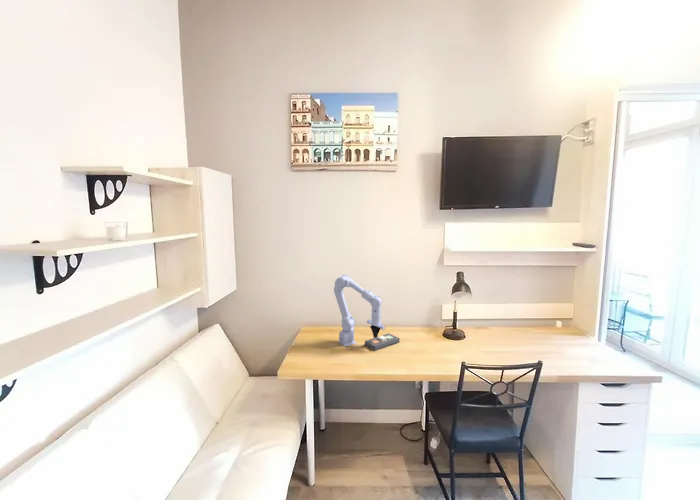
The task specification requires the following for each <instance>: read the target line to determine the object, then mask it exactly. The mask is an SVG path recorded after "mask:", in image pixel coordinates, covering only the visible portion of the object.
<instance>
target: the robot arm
mask: <svg viewBox="0 0 700 500" xmlns="http://www.w3.org/2000/svg"><path fill="white" fill-rule="evenodd" d="M333 287H334V288H333V293H334V296H335V298H336V299H335V300H336V302H337V305H338V308H339V312H340V315H341V329H342V330H340V331H339V333H338V343H339V344H340V345H341V346H344V347H348V346H350V345H354V344H357V343H358V342H357V341H355V327H354V326H355V325H356V320H355V318H354V317H353V315H352V314H351V313H350V310H349V307H348V303H347V301H346V298H345V295H344V289H345V288H352V289H353V290H354V291H356V292H358V293H359V294H360V295H361V297H362V299H364V300H366V301H367V302H368V303H369V304H370V306H371V318H370V319H367V320H366V323H367V324H370V329H371V333H372V336H373V337H372V338H376V337H379V336H378V335H379V332H380V330H382V331H383V330H385V329H386V326H385V325H383V324H382V321H381V319H382V318H381V315H382V314H381V313H382V311H381V309H382V303H383V300H382V298H381V297H380V296H378V295H377V294H374V293H372V292H371V290H370V289H365V288H363V287H361V285H359V284H358V283H357V282H356V281H354V280H353V279H352V277H350V276H349V275H347V274H343V275H341V276H339V277H338V278H336V280H335V281H334V286H333Z"/></svg>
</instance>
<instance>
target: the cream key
mask: <svg viewBox="0 0 700 500" xmlns="http://www.w3.org/2000/svg"><path fill="white" fill-rule="evenodd" d="M379 336H380V337H379ZM379 336H377V337H378V340H380V341H382V342H383V341H386V340H387V337H385V336H382V335H379Z"/></svg>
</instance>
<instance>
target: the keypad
mask: <svg viewBox="0 0 700 500" xmlns="http://www.w3.org/2000/svg"><path fill="white" fill-rule="evenodd" d="M389 335H390V336H392V337H394V338H392V339H387V340H386V341H383V342H382V341H380V340H378V337H380V336H385V337H386V336H389ZM400 339H401V338H400V337H399V336H395V335H394V334H391V333H389V332H388V333H386V334H383V335H379V336H377V337H376V338H375V337H372V338H369V339H366V340H364V346H365V347H367V348H369V349H371V350H373V351H374V352H376V351H379V350H382V349H385V348H388V347H391V346H394V345H397V344H400ZM373 340H377V341H379V342H380V343H377V344H374V343H372V342H371V341H373Z"/></svg>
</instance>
